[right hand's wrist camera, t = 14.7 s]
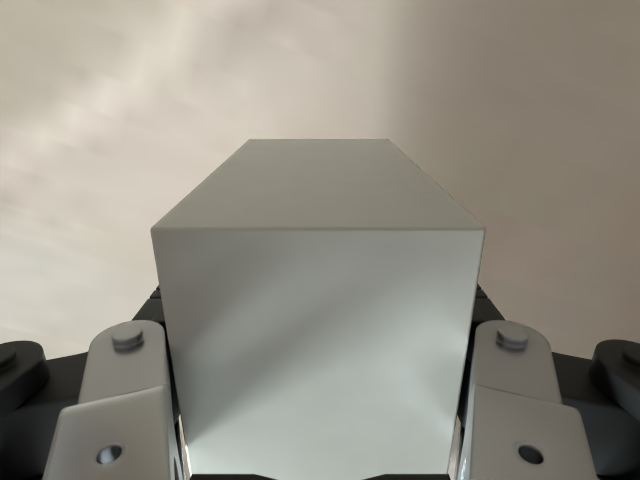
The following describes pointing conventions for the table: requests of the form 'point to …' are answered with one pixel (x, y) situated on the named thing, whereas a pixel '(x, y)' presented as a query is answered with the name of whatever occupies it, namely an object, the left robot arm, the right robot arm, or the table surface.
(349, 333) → the bar
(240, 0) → the table surface
